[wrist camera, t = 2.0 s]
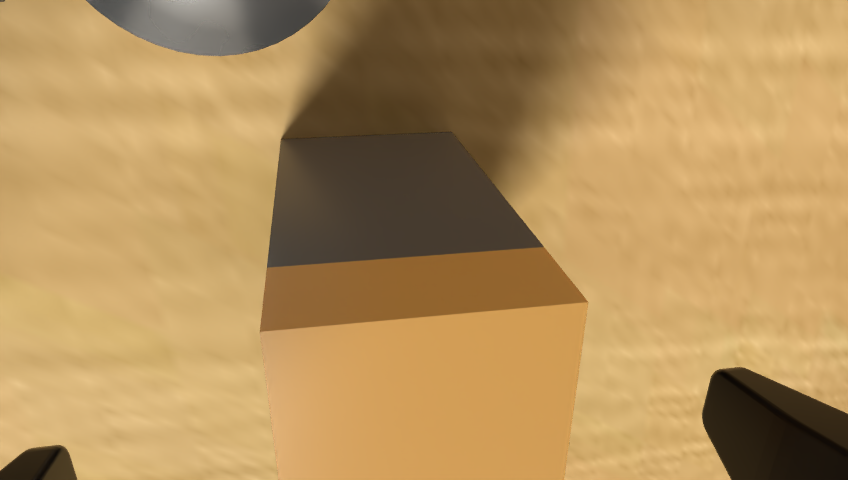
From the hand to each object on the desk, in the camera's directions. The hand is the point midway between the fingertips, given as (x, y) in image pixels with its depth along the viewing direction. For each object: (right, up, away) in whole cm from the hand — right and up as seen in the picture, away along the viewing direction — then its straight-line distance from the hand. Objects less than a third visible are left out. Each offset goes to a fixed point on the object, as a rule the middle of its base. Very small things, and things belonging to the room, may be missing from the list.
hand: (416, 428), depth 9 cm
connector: (-1, +3, +7) cm, 8 cm away
